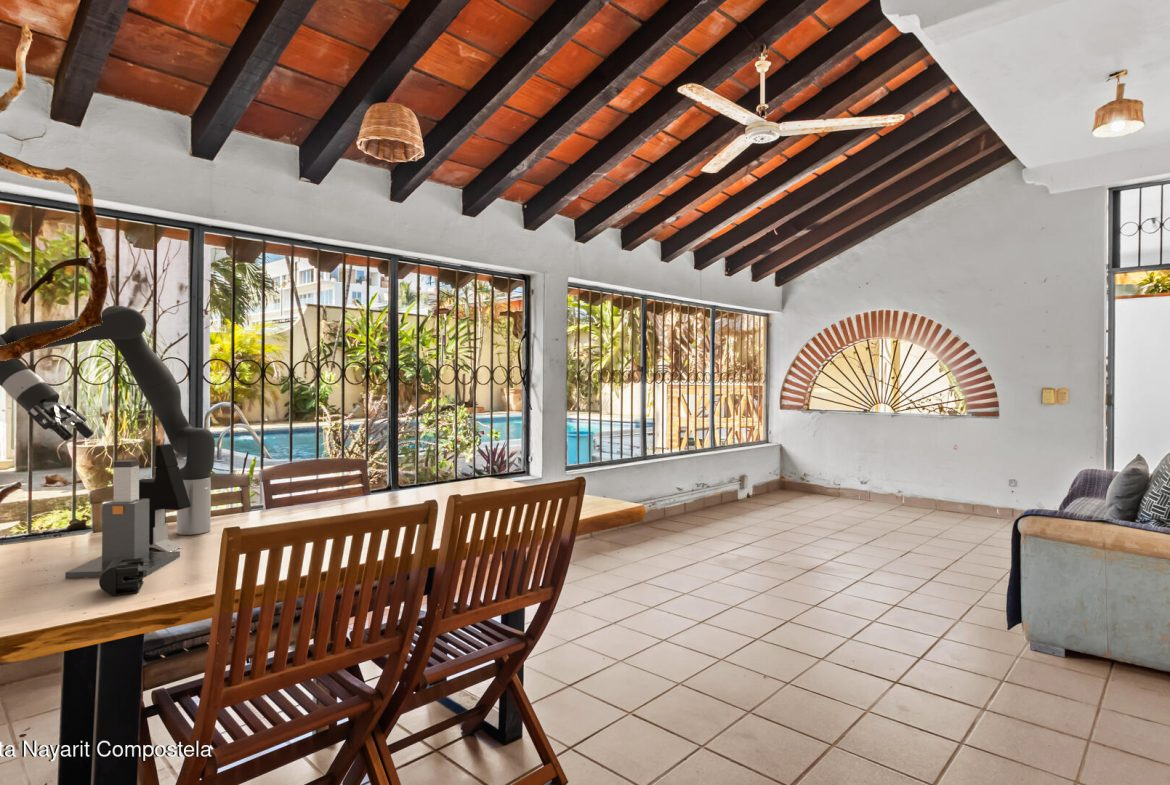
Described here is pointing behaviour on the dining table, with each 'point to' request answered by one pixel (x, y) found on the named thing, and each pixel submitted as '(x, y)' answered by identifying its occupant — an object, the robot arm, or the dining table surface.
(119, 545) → the stand
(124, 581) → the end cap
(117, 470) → the column
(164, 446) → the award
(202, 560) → the dining table surface
